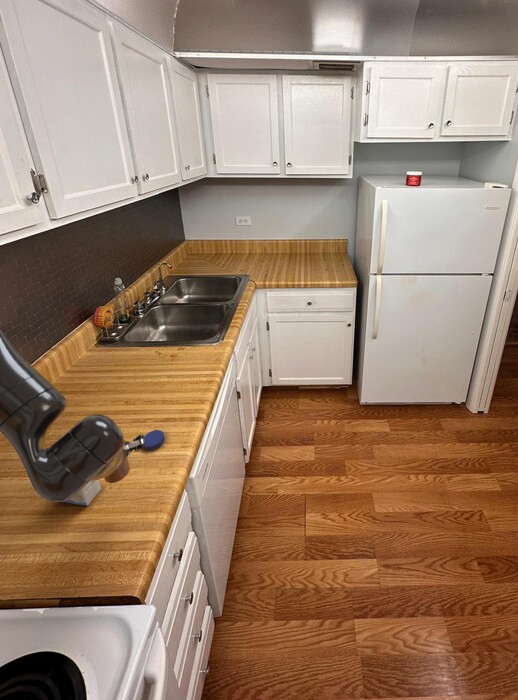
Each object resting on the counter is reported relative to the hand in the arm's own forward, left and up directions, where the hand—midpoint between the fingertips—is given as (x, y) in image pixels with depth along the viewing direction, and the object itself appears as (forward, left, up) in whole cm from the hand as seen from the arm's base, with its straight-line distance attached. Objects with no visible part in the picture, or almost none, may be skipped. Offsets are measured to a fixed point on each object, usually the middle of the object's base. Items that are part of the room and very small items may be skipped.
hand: (112, 455), depth 72 cm
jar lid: (+8, +16, -14) cm, 23 cm away
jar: (0, -1, -5) cm, 5 cm away
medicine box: (-10, +8, -16) cm, 20 cm away
